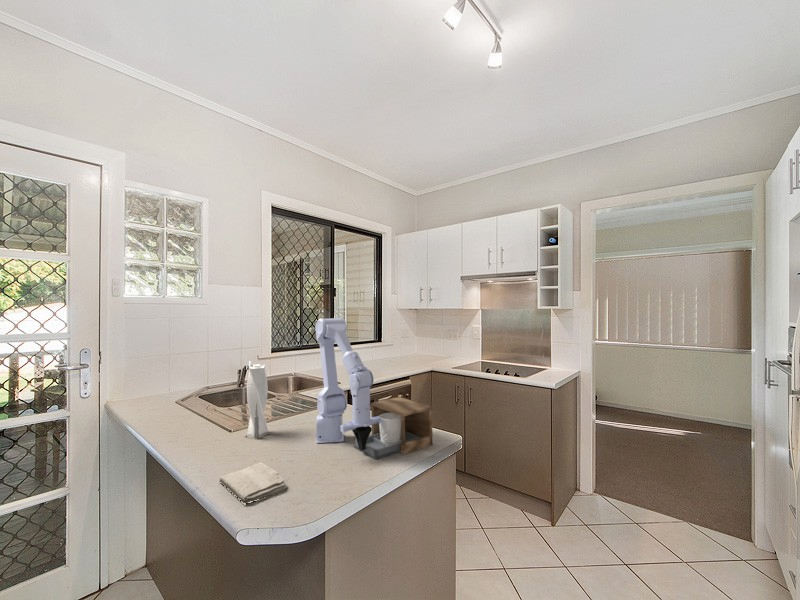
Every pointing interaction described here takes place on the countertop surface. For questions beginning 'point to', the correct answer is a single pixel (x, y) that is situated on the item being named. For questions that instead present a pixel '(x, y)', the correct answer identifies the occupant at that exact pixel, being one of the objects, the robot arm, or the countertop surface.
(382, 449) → the tray
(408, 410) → the shelf
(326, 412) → the robot arm
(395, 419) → the white cup
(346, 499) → the countertop surface
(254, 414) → the skyscraper
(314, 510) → the countertop surface
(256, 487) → the washcloth
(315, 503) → the countertop surface
